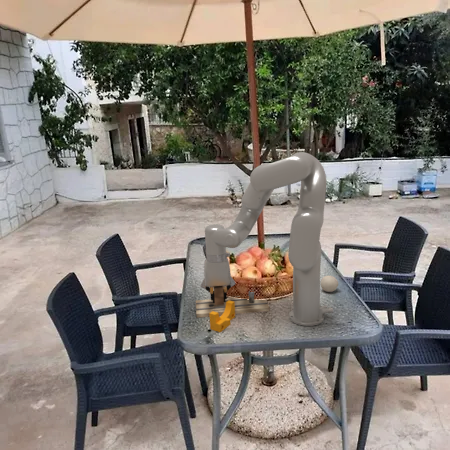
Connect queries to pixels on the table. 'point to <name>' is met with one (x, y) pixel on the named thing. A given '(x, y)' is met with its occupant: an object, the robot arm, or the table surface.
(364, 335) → the table surface
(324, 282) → the baseball
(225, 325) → the pipe clamp
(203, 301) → the board
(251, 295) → the fixed leg
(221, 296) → the block
